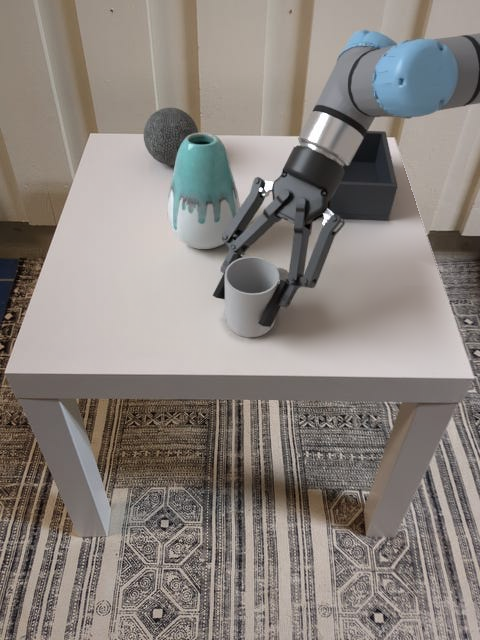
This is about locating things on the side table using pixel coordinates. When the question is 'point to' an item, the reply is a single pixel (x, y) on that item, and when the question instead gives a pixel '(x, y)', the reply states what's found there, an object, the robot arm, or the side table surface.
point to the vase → (202, 192)
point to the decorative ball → (167, 133)
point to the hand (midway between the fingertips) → (241, 310)
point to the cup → (250, 293)
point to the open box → (367, 182)
